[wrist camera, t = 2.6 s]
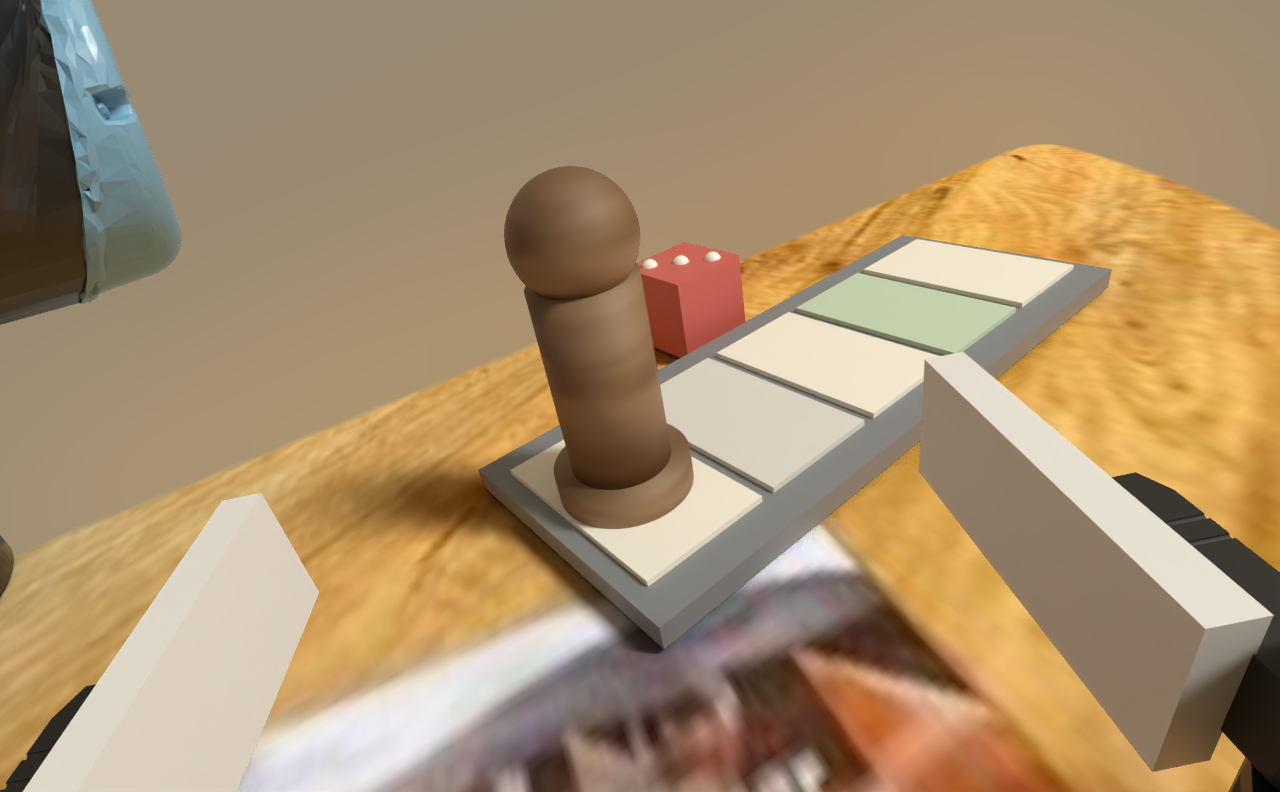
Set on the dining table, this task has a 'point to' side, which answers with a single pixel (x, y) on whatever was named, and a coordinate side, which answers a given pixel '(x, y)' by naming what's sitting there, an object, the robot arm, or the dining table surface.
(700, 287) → the red die
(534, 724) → the dining table surface
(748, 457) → the game board
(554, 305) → the pawn
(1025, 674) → the dining table surface
